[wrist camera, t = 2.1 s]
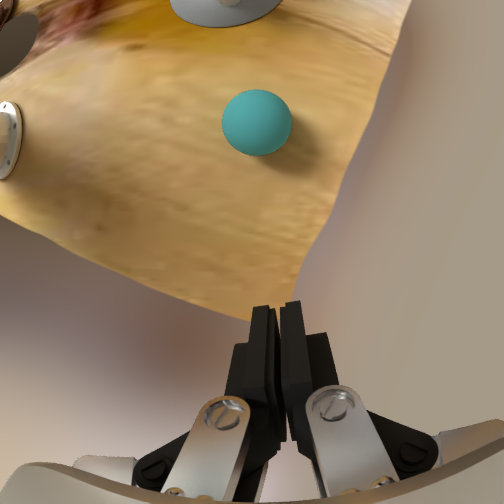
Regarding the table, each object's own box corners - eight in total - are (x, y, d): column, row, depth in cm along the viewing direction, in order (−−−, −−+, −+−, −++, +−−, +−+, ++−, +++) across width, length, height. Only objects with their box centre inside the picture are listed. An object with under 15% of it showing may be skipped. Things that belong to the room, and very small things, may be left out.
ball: (234, 161, 26) (223, 162, 20) (222, 104, 24) (209, 91, 18) (295, 150, 25) (301, 148, 20) (283, 93, 23) (286, 76, 18)
